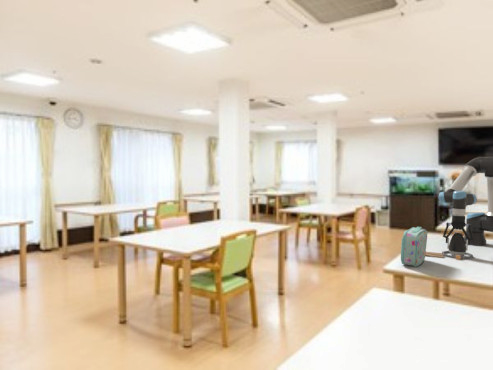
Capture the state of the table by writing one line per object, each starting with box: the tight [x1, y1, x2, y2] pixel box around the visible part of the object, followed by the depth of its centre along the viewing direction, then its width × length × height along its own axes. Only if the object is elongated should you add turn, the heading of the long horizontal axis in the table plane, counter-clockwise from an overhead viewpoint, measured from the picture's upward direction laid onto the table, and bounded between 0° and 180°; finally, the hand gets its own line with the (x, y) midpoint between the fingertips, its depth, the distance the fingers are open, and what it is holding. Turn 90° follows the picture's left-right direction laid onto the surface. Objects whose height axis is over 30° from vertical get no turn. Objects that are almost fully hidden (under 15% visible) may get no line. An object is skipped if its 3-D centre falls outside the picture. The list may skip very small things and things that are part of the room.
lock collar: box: [441, 250, 474, 261], centre depth 254 cm, size 22×18×2 cm
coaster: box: [425, 251, 445, 259], centre depth 255 cm, size 11×11×1 cm
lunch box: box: [400, 226, 428, 268], centre depth 235 cm, size 27×10×21 cm, turn 145°
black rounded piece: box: [448, 232, 467, 257], centre depth 253 cm, size 10×10×15 cm
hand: (457, 249), depth 253 cm, fingers closed on black rounded piece, 10 cm apart
